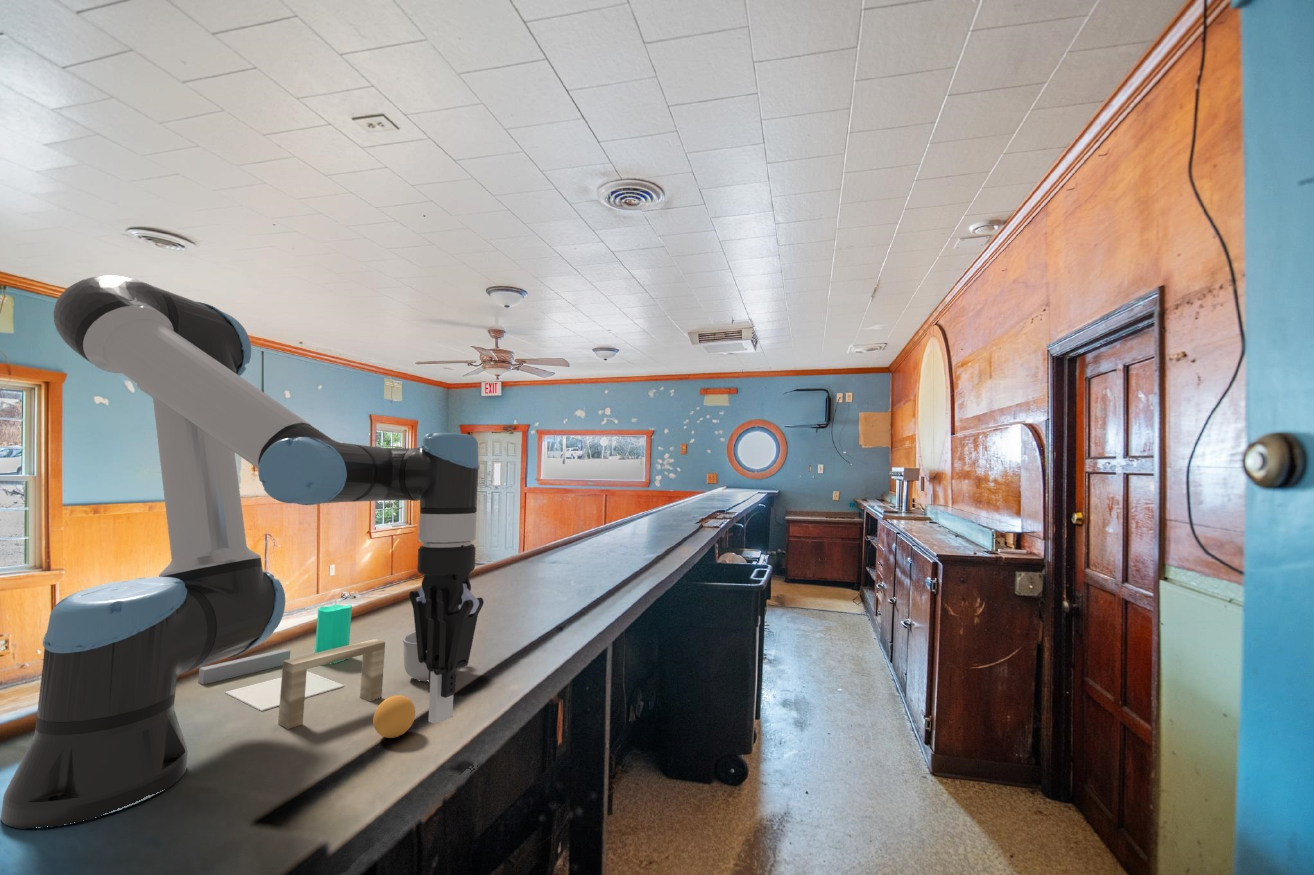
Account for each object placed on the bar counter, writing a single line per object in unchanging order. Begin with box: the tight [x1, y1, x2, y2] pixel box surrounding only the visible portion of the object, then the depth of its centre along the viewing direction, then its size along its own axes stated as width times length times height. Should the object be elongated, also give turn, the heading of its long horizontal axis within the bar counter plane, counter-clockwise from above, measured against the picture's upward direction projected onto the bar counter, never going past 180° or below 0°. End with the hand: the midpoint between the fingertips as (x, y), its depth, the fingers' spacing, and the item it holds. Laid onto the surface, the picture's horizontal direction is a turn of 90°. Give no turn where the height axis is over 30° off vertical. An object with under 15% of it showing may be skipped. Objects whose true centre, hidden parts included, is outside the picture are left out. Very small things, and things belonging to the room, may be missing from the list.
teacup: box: [402, 631, 429, 682], centre depth 105 cm, size 14×11×8 cm
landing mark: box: [224, 670, 345, 712], centre depth 95 cm, size 13×13×1 cm
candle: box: [314, 599, 353, 665], centre depth 112 cm, size 6×6×12 cm
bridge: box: [277, 638, 386, 730], centre depth 88 cm, size 3×14×9 cm, turn 149°
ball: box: [372, 694, 416, 739], centre depth 79 cm, size 6×6×6 cm
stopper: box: [197, 648, 291, 685], centre depth 103 cm, size 14×2×2 cm, turn 149°
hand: (440, 719), depth 74 cm, fingers closed
